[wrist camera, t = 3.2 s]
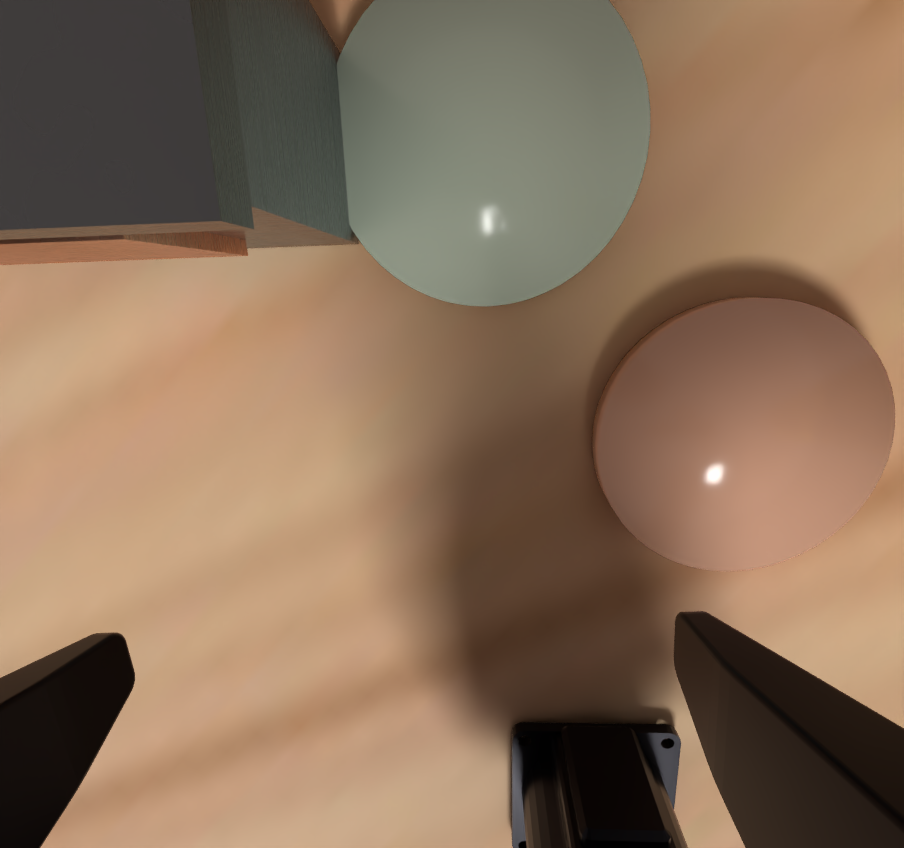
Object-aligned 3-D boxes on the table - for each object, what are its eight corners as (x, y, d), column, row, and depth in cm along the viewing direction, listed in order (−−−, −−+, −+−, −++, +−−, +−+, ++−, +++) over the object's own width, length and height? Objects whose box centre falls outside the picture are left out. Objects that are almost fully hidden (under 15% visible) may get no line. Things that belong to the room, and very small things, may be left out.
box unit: (375, 259, 16) (220, 220, 6) (-13, 274, 17) (-677, 258, 7) (360, 39, 14) (125, -450, 5) (-68, 66, 15) (-1009, -314, 6)
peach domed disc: (845, 556, 18) (866, 571, 17) (587, 556, 18) (593, 571, 17) (895, 292, 16) (923, 293, 15) (597, 301, 16) (605, 302, 15)
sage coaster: (629, 300, 16) (639, 301, 15) (348, 309, 16) (340, 311, 16) (649, -43, 14) (662, -69, 13) (320, -21, 14) (309, -44, 13)
